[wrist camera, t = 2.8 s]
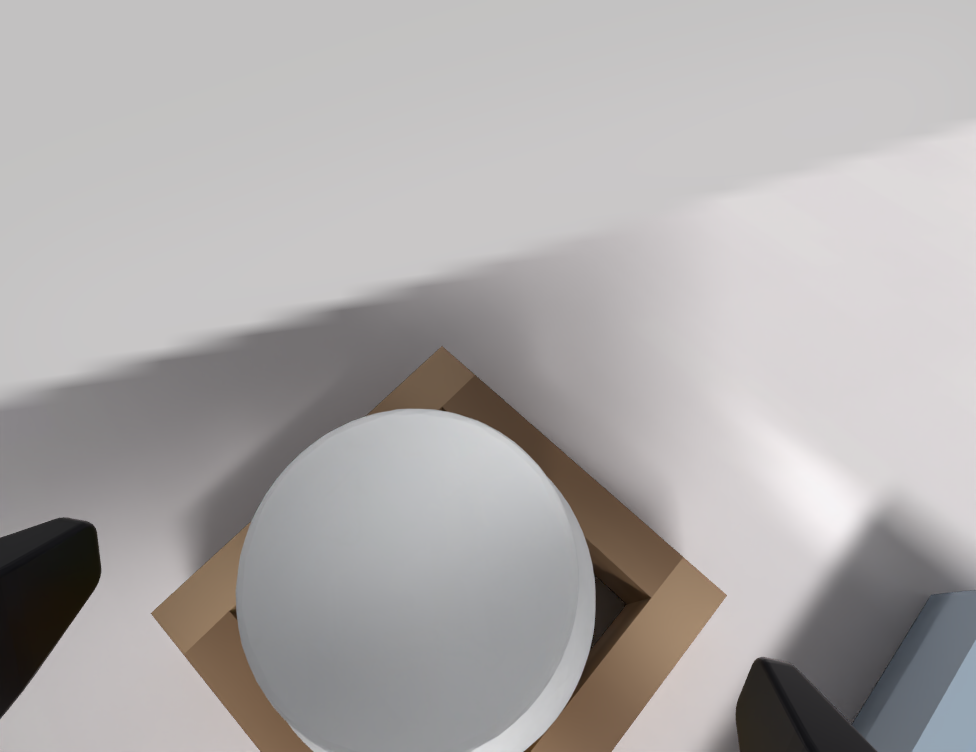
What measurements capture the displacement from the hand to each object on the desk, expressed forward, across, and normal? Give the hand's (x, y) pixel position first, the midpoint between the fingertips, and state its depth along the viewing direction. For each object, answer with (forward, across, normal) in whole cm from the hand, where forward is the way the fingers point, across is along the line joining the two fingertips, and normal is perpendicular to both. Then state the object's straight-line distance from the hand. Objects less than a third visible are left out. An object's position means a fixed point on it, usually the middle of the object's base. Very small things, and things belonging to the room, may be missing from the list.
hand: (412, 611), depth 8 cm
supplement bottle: (+6, 0, +6) cm, 8 cm away
